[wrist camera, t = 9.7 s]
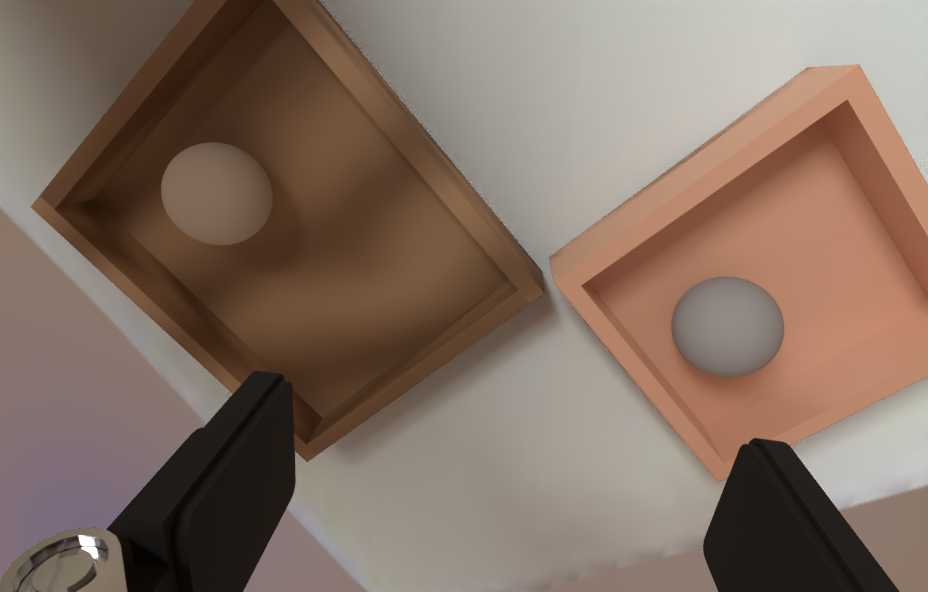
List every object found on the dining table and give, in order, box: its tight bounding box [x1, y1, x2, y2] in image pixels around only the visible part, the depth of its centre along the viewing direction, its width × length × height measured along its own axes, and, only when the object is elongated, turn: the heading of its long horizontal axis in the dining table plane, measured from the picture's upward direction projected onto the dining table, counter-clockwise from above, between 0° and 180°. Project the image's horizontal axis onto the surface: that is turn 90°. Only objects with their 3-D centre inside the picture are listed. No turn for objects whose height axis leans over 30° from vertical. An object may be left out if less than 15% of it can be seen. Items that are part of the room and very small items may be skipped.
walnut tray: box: [31, 0, 544, 462], centre depth 25 cm, size 18×16×3 cm
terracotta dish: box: [549, 64, 928, 482], centre depth 23 cm, size 13×13×4 cm
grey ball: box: [671, 276, 784, 378], centre depth 23 cm, size 4×4×4 cm
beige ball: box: [161, 142, 273, 245], centre depth 23 cm, size 4×4×4 cm
